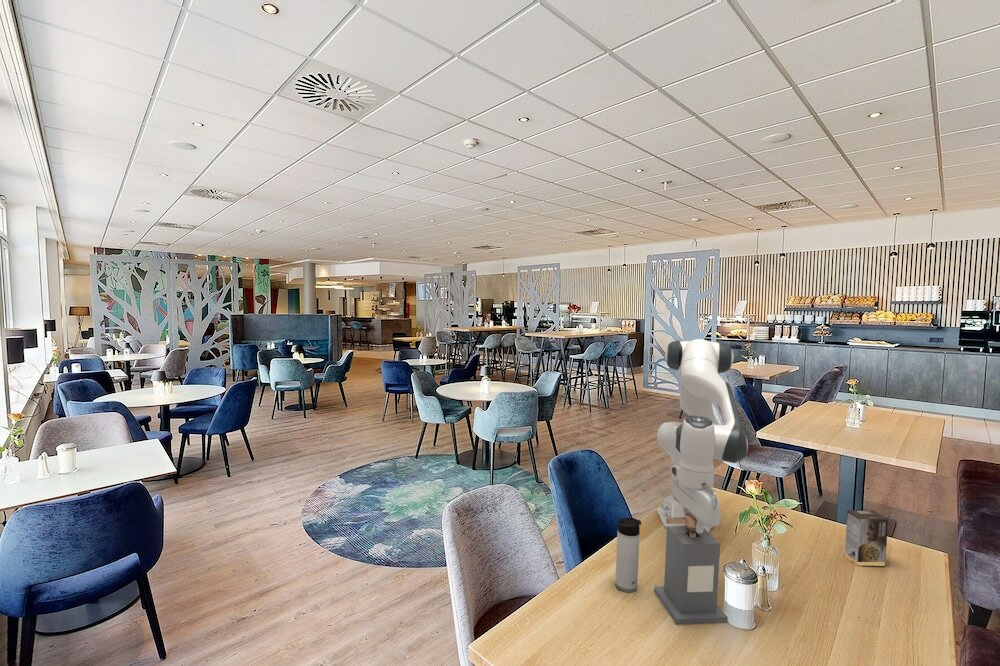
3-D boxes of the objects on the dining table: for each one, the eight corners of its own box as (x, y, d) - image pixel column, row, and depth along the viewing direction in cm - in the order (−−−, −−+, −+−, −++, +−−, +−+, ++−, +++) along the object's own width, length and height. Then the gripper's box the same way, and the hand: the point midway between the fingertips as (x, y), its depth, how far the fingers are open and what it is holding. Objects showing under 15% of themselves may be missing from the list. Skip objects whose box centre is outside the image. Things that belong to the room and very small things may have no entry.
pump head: (660, 581, 131) (664, 513, 130) (693, 580, 132) (697, 513, 131) (667, 591, 127) (671, 521, 126) (701, 590, 128) (705, 520, 126)
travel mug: (639, 594, 135) (642, 526, 134) (615, 590, 136) (618, 523, 135) (637, 581, 141) (640, 516, 140) (614, 578, 143) (617, 514, 141)
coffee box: (870, 556, 159) (874, 510, 158) (885, 567, 152) (889, 519, 151) (843, 555, 159) (846, 509, 158) (856, 566, 152) (860, 518, 151)
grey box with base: (653, 591, 136) (657, 522, 135) (700, 590, 138) (703, 521, 136) (676, 624, 123) (680, 548, 121) (727, 622, 124) (731, 547, 122)
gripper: (728, 492, 118) (725, 546, 119) (688, 464, 138) (686, 510, 139) (704, 492, 117) (701, 546, 118) (668, 464, 137) (665, 510, 138)
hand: (693, 526), depth 129 cm, fingers closed on pump head, 4 cm apart
